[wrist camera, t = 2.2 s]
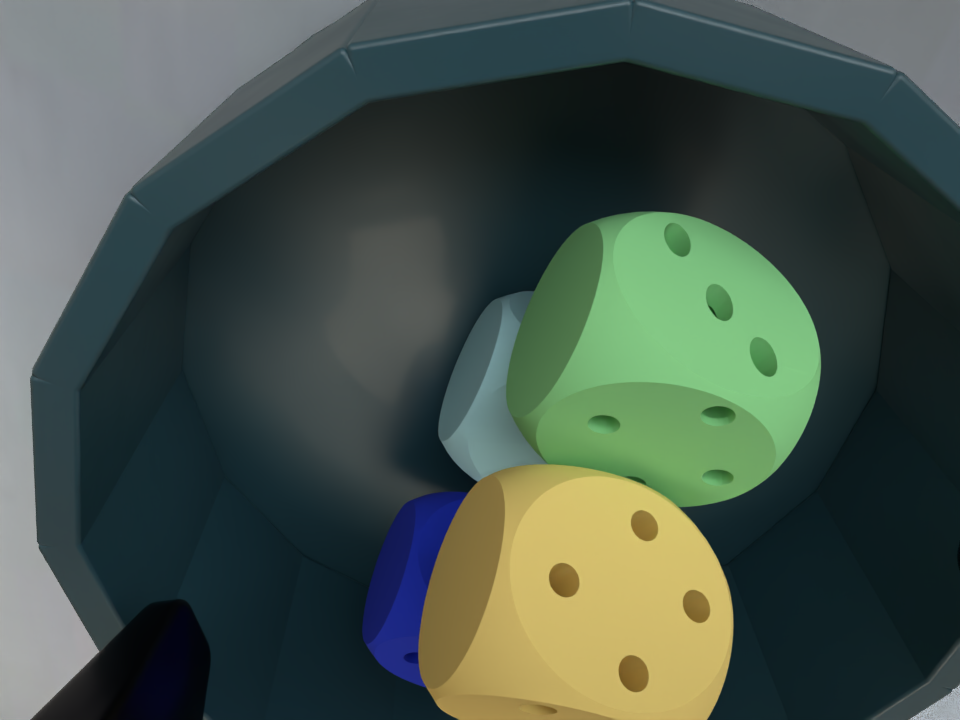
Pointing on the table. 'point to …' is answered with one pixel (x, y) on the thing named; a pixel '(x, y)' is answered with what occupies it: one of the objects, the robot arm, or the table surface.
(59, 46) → the table surface
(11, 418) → the table surface
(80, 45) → the table surface
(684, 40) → the pan
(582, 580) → the dice
